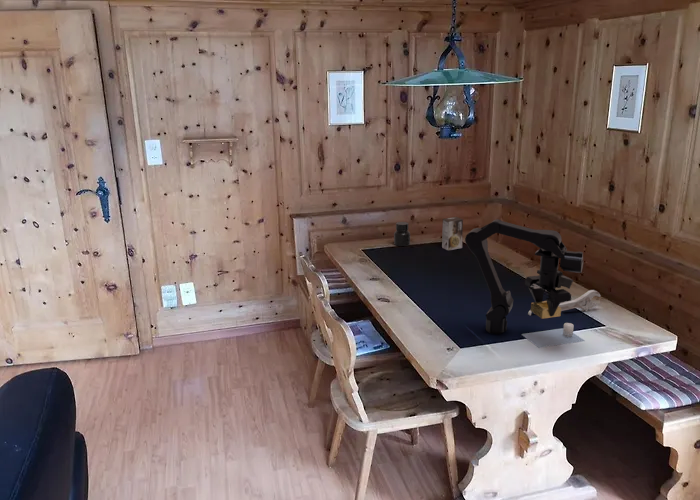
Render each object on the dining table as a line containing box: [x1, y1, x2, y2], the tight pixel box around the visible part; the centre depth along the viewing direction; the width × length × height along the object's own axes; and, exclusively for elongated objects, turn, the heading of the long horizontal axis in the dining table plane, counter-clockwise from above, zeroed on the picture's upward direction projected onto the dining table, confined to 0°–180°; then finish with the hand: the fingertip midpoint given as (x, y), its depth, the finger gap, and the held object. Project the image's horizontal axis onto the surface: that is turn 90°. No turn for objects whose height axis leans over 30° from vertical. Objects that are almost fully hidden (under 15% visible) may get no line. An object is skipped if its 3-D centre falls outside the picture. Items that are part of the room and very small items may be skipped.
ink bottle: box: [393, 221, 411, 247], centre depth 313 cm, size 10×9×12 cm
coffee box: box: [441, 216, 464, 251], centre depth 304 cm, size 9×6×16 cm
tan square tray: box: [530, 300, 562, 320], centre depth 194 cm, size 7×7×3 cm
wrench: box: [527, 289, 601, 316], centre depth 220 cm, size 8×2×30 cm
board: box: [521, 322, 586, 349], centre depth 198 cm, size 18×11×5 cm, turn 105°
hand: (545, 312), depth 195 cm, fingers closed on tan square tray, 7 cm apart
